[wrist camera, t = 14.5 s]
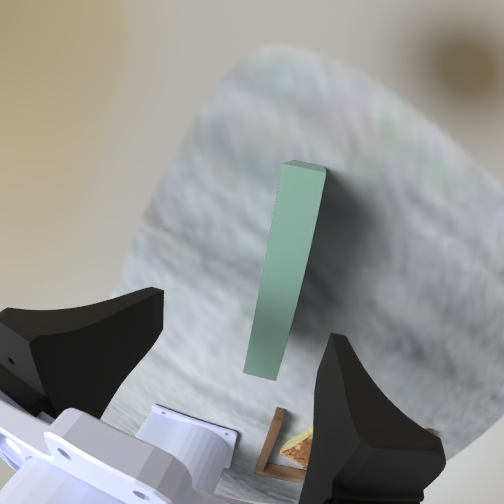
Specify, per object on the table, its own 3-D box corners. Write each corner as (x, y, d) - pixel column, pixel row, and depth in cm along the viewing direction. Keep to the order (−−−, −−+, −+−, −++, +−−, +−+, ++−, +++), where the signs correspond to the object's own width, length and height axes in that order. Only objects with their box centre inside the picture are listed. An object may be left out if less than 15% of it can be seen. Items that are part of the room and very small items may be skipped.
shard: (396, 450, 26) (397, 463, 24) (345, 477, 28) (344, 489, 27) (326, 411, 25) (325, 425, 24) (275, 444, 28) (272, 456, 27)
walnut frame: (256, 463, 29) (254, 473, 28) (276, 407, 26) (274, 419, 24) (386, 481, 27) (387, 491, 26) (432, 429, 23) (435, 439, 22)
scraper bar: (288, 328, 23) (275, 381, 17) (262, 322, 23) (243, 372, 18) (325, 166, 19) (326, 172, 13) (294, 160, 19) (282, 163, 14)
